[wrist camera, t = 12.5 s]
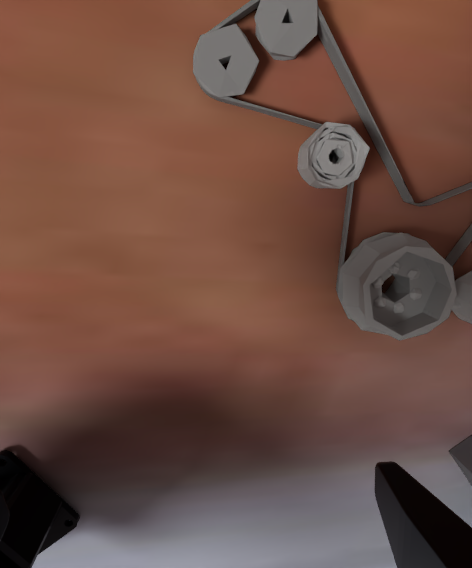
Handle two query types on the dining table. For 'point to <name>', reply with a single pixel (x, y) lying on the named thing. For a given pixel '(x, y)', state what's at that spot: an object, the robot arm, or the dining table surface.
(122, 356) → the dining table surface
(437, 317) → the pulley system
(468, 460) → the pin socket
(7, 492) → the robot arm
